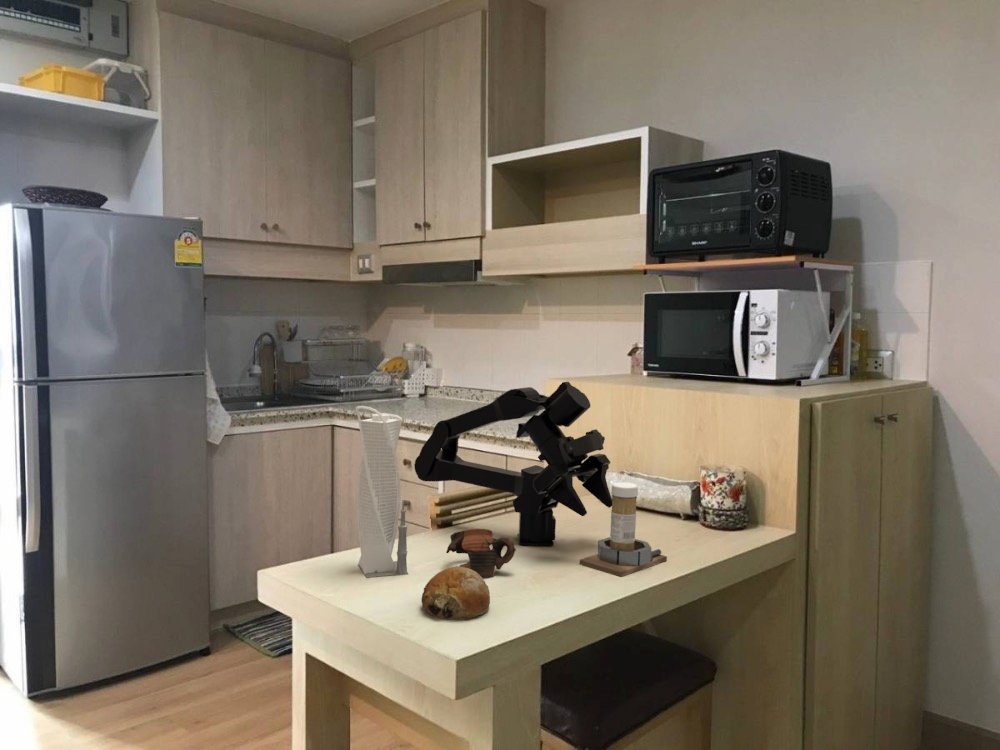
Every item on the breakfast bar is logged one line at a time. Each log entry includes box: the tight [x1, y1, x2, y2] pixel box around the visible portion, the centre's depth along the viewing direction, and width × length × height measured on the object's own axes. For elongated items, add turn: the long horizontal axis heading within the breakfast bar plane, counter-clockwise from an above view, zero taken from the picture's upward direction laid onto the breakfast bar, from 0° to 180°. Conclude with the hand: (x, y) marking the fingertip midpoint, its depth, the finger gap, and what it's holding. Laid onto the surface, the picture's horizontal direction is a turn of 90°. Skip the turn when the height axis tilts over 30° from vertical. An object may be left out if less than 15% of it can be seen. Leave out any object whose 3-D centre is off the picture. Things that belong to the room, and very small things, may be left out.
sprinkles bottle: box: [609, 481, 639, 550], centre depth 145 cm, size 5×5×14 cm
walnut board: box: [579, 553, 668, 577], centre depth 146 cm, size 14×9×1 cm, turn 136°
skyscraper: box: [354, 405, 409, 579], centre depth 136 cm, size 8×8×28 cm
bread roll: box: [421, 565, 491, 620], centre depth 120 cm, size 10×10×8 cm
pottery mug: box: [445, 528, 517, 578], centre depth 139 cm, size 12×10×8 cm
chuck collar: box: [597, 536, 662, 566], centre depth 146 cm, size 11×9×2 cm
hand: (598, 510), depth 148 cm, fingers open, 9 cm apart
